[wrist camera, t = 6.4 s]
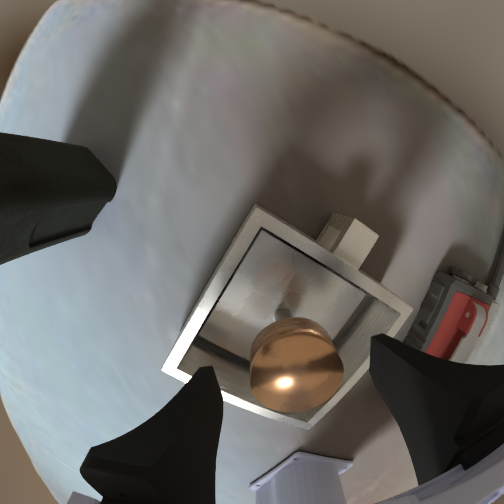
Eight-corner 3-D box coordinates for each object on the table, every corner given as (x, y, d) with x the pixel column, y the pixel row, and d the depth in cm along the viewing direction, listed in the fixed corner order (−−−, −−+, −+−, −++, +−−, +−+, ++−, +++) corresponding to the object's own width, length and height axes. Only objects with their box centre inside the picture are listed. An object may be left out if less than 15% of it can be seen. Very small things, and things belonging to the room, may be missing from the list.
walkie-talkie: (427, 400, 21) (510, 218, 16) (445, 426, 16) (542, 225, 12) (363, 397, 20) (459, 176, 16) (380, 431, 16) (498, 176, 12)
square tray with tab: (299, 388, 19) (308, 430, 15) (179, 332, 18) (161, 370, 13) (396, 258, 17) (433, 278, 12) (272, 173, 16) (280, 167, 11)
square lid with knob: (296, 377, 18) (312, 448, 12) (199, 330, 17) (176, 400, 11) (362, 291, 17) (414, 342, 10) (261, 228, 16) (268, 256, 9)
